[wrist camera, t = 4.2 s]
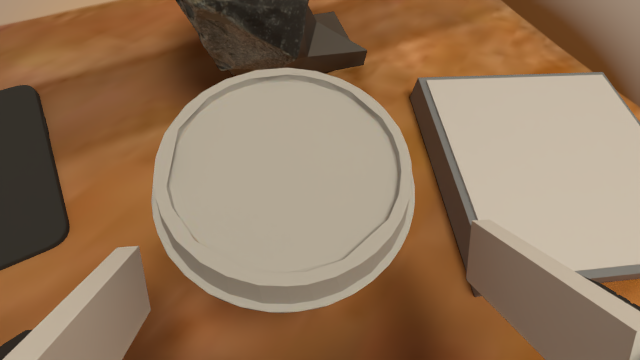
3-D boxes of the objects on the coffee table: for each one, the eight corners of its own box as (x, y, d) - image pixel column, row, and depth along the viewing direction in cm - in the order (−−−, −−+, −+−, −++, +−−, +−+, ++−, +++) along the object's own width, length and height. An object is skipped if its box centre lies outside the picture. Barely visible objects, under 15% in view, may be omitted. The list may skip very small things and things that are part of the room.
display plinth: (474, 296, 21) (495, 288, 19) (409, 97, 30) (419, 75, 27) (704, 271, 23) (746, 261, 21) (583, 91, 31) (604, 70, 29)
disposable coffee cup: (266, 173, 25) (246, 30, 14) (384, 231, 23) (459, 118, 13) (182, 290, 20) (65, 206, 10) (321, 373, 19) (357, 378, 8)
